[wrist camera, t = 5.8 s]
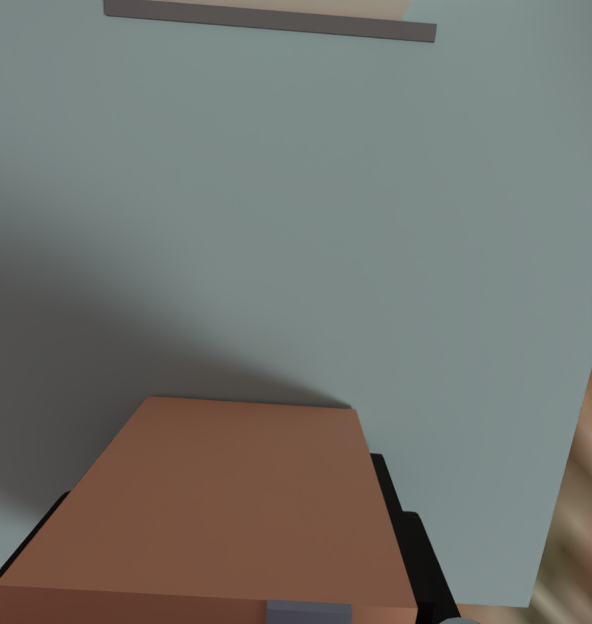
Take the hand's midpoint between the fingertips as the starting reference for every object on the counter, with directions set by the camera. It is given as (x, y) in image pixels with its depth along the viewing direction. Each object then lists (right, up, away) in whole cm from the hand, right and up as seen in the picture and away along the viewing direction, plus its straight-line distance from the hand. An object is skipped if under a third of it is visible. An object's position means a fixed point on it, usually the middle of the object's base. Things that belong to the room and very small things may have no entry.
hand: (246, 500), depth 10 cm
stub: (0, 0, 0) cm, 0 cm away
